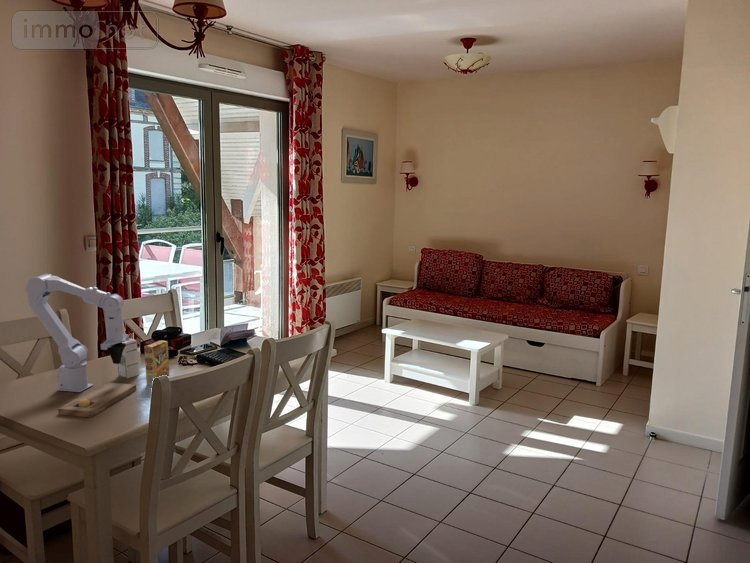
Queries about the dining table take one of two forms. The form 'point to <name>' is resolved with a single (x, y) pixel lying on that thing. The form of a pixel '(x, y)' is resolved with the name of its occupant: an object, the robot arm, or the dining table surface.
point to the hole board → (97, 399)
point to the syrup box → (129, 360)
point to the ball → (84, 403)
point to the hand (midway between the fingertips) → (116, 363)
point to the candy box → (156, 360)
